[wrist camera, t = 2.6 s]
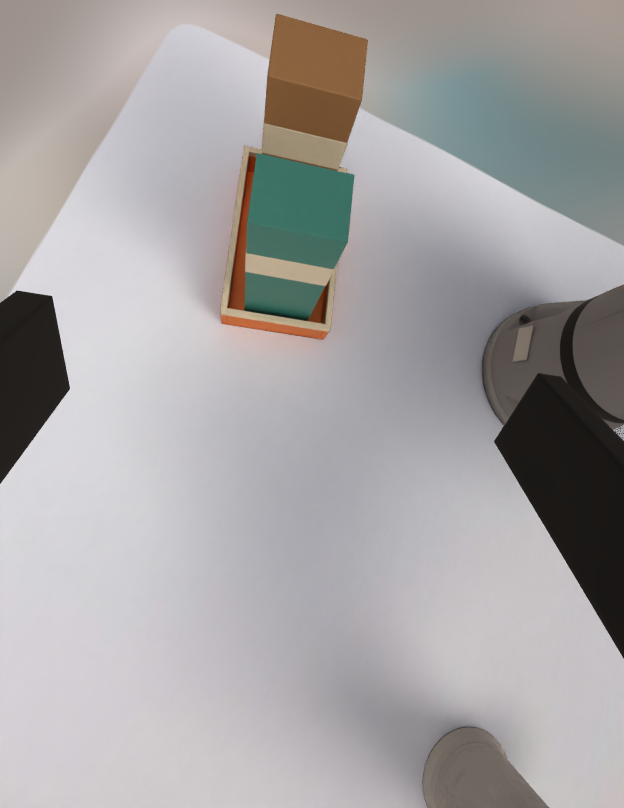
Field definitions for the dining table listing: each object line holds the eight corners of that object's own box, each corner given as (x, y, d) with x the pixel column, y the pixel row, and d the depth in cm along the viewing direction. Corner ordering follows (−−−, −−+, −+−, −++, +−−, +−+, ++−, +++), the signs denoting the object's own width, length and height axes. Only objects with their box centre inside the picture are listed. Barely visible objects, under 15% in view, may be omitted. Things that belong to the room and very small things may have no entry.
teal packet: (310, 282, 40) (355, 174, 25) (305, 326, 40) (348, 243, 24) (249, 271, 39) (256, 151, 24) (243, 316, 39) (246, 222, 23)
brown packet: (320, 194, 42) (368, 38, 26) (315, 235, 41) (362, 100, 25) (261, 181, 41) (275, 12, 25) (256, 223, 40) (266, 75, 24)
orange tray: (339, 189, 43) (347, 168, 39) (323, 340, 40) (330, 330, 37) (243, 168, 41) (244, 145, 38) (221, 323, 39) (219, 312, 36)
